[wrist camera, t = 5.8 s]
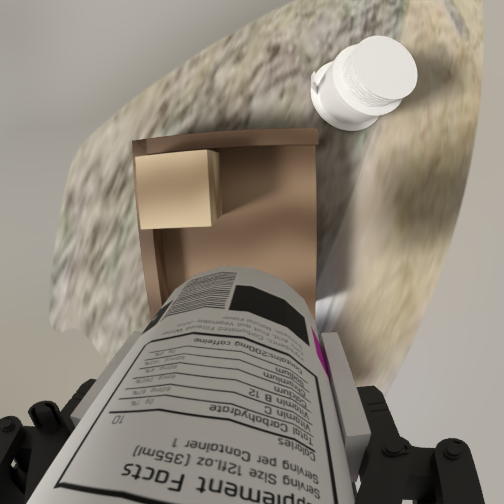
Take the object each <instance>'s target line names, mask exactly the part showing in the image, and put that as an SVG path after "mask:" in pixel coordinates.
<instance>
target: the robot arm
mask: <svg viewBox="0 0 504 504" xmlns="http://www.w3.org/2000/svg"><path fill="white" fill-rule="evenodd" d="M142 333H143V332H139V331H134V332H133V333H132V335H131V336H130V337H129V339H128V340H127V341H126V342H125V344H124V345H123V346H122V348H121V349H120V350H119V351H118V353H117V354H116V355H115V357H114V358H113V359H112V361H111V362H110V363H109V364H108V366H107V367H106V369H105V370H104V371H103V372H102V374H101V375H100V376H99V378H98V379H97V380H96V379H89V380H88V381H86V382H85V383H84V384H82V385H81V386H80V388H79V389H78V390H77V391H76V393H75V394H74V395H73V396H72V399H70V400H69V401H68V403H67V404H66V405H65V407H64V408H63V409H62V411H61V412H60V411H59V408H58V406H57V405H56V403H54V402H52V401H41V402H38V403H36V404H34V405H33V406H32V407H30V409H29V411H28V413H29V415H30V417H31V419H32V421H33V423H34V425H35V426H23V425H22V423H21V421H20V420H19V419H18V418H17V417H15V416H7V417H4V418H2V419H0V504H27V502H28V500H29V499H30V497H31V496H32V494H33V492H34V491H35V489H36V488H37V486H38V484H39V483H40V481H41V480H42V478H43V477H44V475H45V473H46V472H47V470H48V469H49V467H50V466H51V464H52V463H53V461H54V460H55V458H56V457H57V455H58V454H59V452H60V450H61V449H62V447H63V446H64V444H65V443H66V441H67V440H68V438H69V437H70V435H71V434H72V432H73V431H74V430H75V428H76V427H77V425H78V424H79V422H80V421H81V419H82V418H83V416H84V415H85V413H86V412H87V410H88V409H89V408H90V406H91V405H92V403H93V402H94V400H95V399H96V397H97V396H98V395H99V393H100V392H101V390H102V389H103V387H104V386H105V385H106V383H107V382H108V380H109V379H110V377H111V376H112V375H113V373H114V372H115V370H116V369H117V368H118V366H119V365H120V363H121V362H122V361H123V359H124V358H125V356H126V355H127V354H128V352H129V351H130V350H131V348H132V347H133V345H134V344H135V343H136V341H137V340H138V339H139V337H140V336H141V334H142ZM321 347H322V351H323V356H324V360H325V364H326V368H327V372H328V376H329V381H330V385H331V389H332V394H333V398H334V402H335V407H336V411H337V416H338V420H339V425H340V430H341V434H342V439H343V444H344V449H345V453H346V458H347V463H348V468H349V473H350V478H351V483H352V489H353V494H354V499H355V503H354V504H402V500H413V504H485V502H484V498H483V494H482V490H481V486H480V483H479V478H478V475H477V471H476V468H475V464H474V461H473V458H472V454H471V451H470V449H469V447H468V445H467V444H466V443H465V442H463V441H462V440H459V439H456V438H448V439H444V440H442V441H441V442H439V443H438V444H437V446H436V448H420V447H414V446H411V444H410V443H409V441H407V440H406V439H404V438H402V437H400V435H399V433H398V430H397V428H396V426H395V423H394V420H393V418H392V415H391V413H390V411H389V408H388V406H387V403H386V401H385V398H384V396H383V394H382V392H381V391H380V390H378V389H377V388H376V387H375V386H365V387H356V385H355V382H354V379H353V376H352V373H351V370H350V367H349V364H348V361H347V358H346V355H345V353H344V350H343V347H342V344H341V341H340V338H339V336H338V333H337V332H330V333H321ZM13 460H14V461H15V463H16V464H15V466H14V467H12V466H11V463H12V461H13ZM358 475H359V476H360V481H361V485H360V488H359V491H358V493H357V491H356V485H355V483H354V482H356V481H357V478H358Z"/></svg>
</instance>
